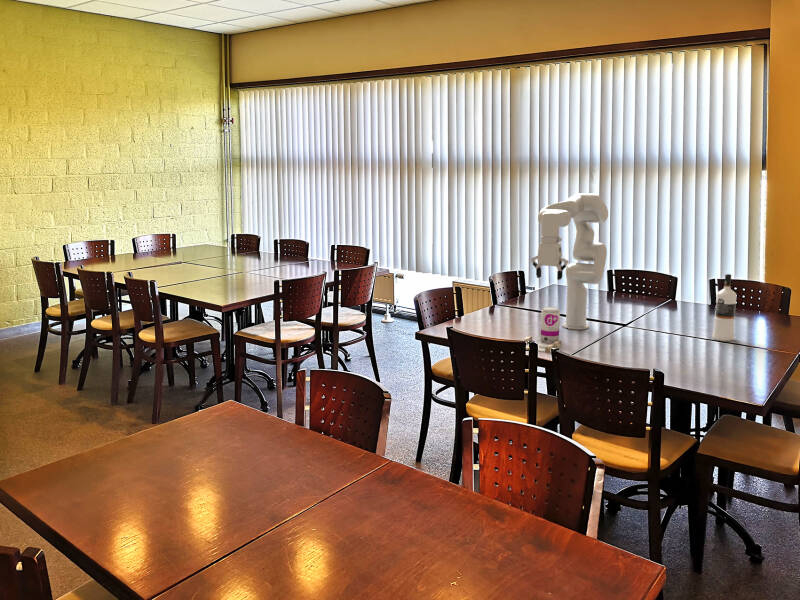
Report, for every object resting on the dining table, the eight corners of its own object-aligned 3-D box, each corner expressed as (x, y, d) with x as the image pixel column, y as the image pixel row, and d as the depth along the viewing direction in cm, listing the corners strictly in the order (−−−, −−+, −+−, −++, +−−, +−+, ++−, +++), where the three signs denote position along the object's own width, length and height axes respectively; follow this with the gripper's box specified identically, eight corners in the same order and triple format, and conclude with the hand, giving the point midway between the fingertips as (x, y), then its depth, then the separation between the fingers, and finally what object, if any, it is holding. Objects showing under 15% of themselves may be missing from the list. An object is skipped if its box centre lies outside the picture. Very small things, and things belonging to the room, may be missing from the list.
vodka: (738, 340, 331) (744, 275, 325) (723, 342, 327) (728, 276, 321) (722, 335, 339) (727, 272, 333) (707, 338, 336) (712, 273, 330)
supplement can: (559, 343, 328) (560, 310, 325) (540, 342, 330) (541, 310, 327) (558, 339, 336) (560, 307, 333) (540, 338, 338) (541, 306, 335)
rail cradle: (528, 341, 333) (528, 335, 332) (561, 345, 324) (561, 340, 324) (515, 347, 321) (515, 342, 321) (548, 352, 313) (548, 347, 312)
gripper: (572, 240, 319) (570, 278, 323) (535, 237, 329) (534, 275, 332) (565, 242, 313) (564, 281, 317) (528, 240, 323) (527, 278, 326)
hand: (549, 278), depth 325 cm, fingers open, 9 cm apart
